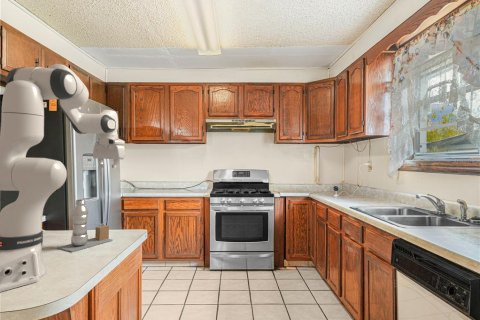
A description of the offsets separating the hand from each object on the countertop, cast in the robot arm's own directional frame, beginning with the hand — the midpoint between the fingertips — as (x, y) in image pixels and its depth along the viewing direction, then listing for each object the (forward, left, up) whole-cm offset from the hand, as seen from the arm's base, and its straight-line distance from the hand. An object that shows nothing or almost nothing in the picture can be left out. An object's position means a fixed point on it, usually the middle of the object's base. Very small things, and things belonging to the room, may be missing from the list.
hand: (107, 167), depth 146 cm
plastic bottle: (-21, -9, -34) cm, 41 cm away
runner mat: (-17, -9, -34) cm, 39 cm away
